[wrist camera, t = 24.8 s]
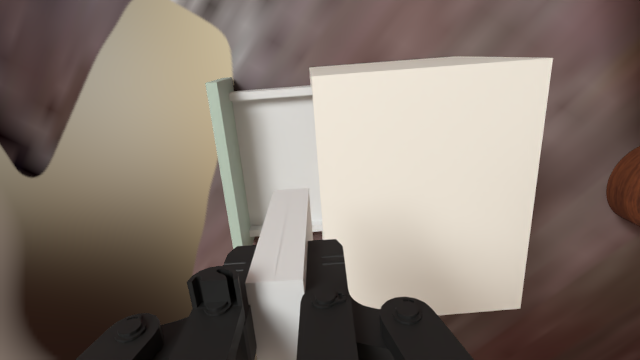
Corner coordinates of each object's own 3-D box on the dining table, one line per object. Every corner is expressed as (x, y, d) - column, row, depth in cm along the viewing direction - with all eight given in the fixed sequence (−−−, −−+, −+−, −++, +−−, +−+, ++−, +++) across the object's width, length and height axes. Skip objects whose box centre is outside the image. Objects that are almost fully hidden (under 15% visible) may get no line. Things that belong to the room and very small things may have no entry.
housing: (309, 67, 40) (311, 76, 24) (454, 56, 40) (552, 57, 24) (322, 231, 46) (330, 324, 31) (447, 221, 47) (520, 308, 31)
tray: (222, 78, 40) (205, 83, 33) (441, 61, 40) (469, 62, 33) (246, 236, 46) (236, 268, 39) (435, 221, 46) (458, 250, 39)
